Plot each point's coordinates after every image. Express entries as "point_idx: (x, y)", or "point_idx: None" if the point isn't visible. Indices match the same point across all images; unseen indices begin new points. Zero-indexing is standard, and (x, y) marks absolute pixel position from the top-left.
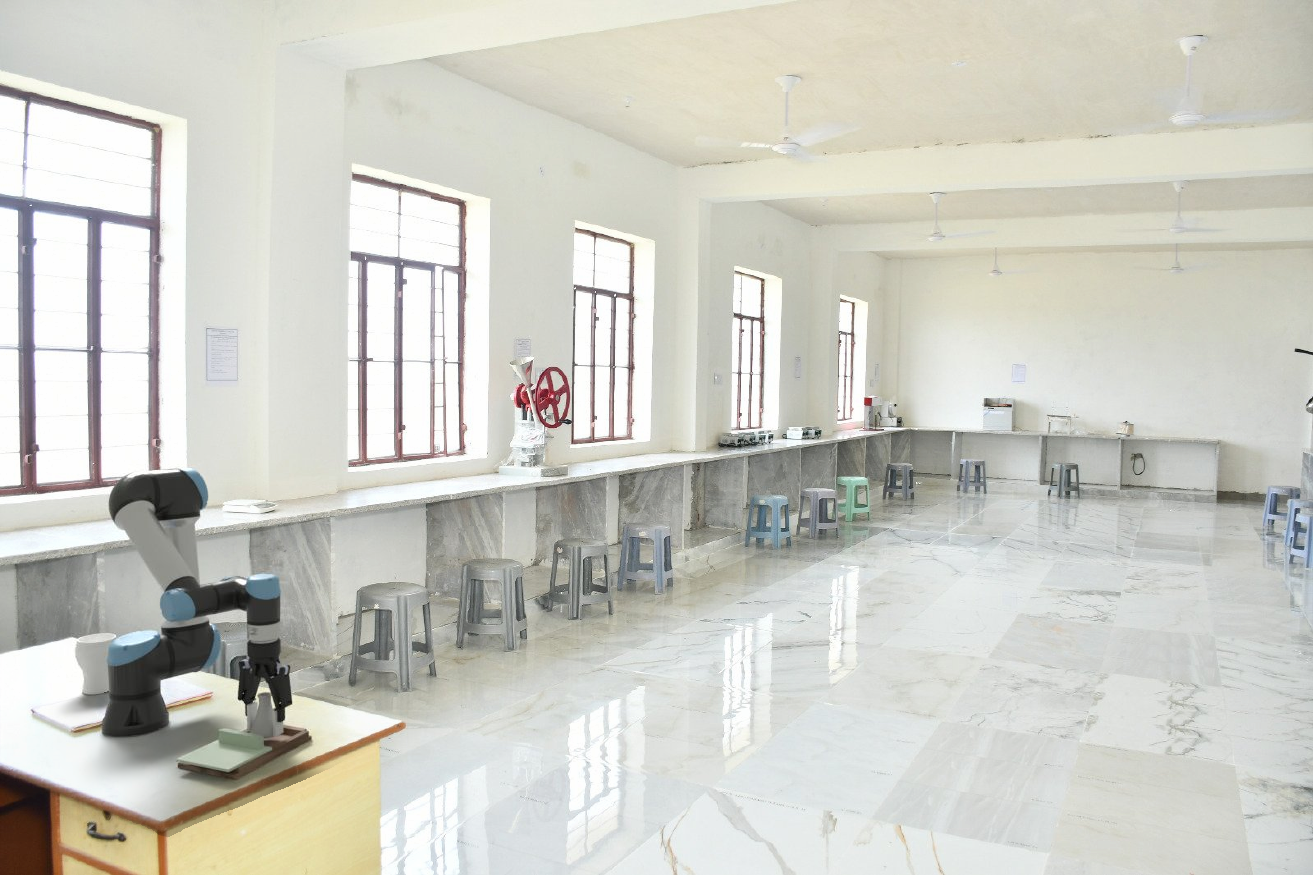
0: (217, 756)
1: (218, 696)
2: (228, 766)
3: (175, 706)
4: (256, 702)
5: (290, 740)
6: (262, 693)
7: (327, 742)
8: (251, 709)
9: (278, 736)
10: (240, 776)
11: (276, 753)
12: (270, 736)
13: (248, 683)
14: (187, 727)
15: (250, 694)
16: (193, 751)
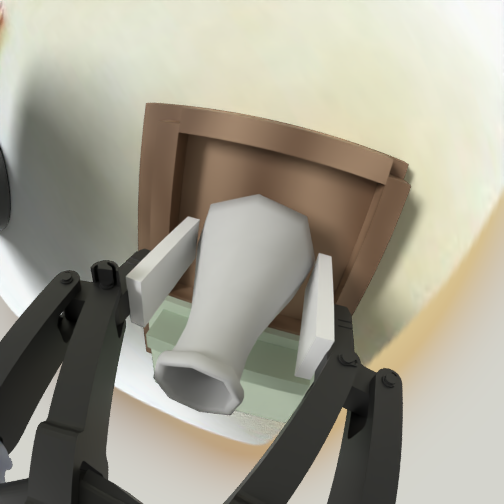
0: None
1: (10, 6)
2: (277, 416)
3: None
4: (141, 286)
5: (370, 279)
6: (165, 369)
7: (459, 184)
8: (155, 300)
9: (282, 183)
10: None
11: None
12: (296, 292)
13: (37, 347)
14: (25, 155)
15: (116, 365)
16: (154, 359)
